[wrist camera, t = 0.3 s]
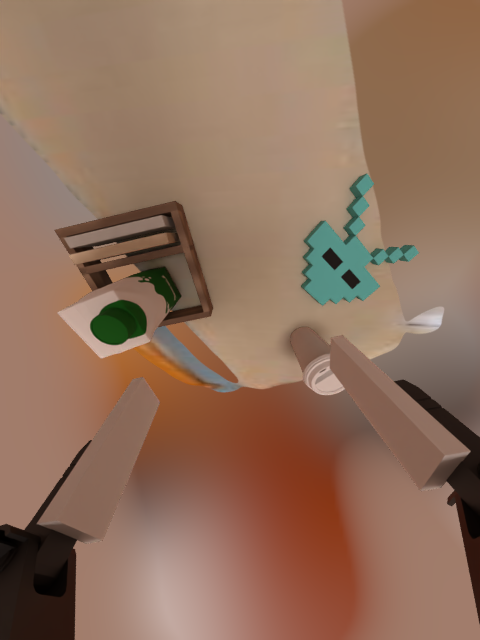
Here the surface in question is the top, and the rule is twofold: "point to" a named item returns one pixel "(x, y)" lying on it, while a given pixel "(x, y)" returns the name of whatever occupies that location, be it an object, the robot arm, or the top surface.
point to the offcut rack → (145, 255)
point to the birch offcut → (125, 248)
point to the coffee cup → (315, 361)
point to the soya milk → (123, 311)
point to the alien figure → (346, 256)
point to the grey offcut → (121, 232)
